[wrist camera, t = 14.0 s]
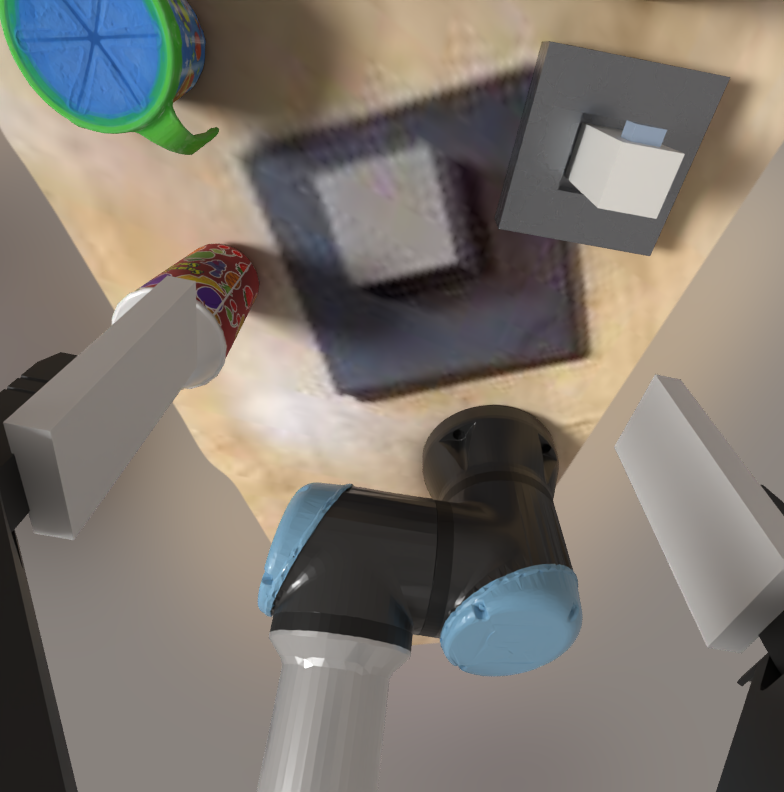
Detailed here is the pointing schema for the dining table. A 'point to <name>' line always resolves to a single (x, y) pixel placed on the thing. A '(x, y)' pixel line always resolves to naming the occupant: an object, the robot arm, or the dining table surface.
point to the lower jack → (605, 106)
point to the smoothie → (210, 302)
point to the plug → (624, 167)
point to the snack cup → (111, 63)
